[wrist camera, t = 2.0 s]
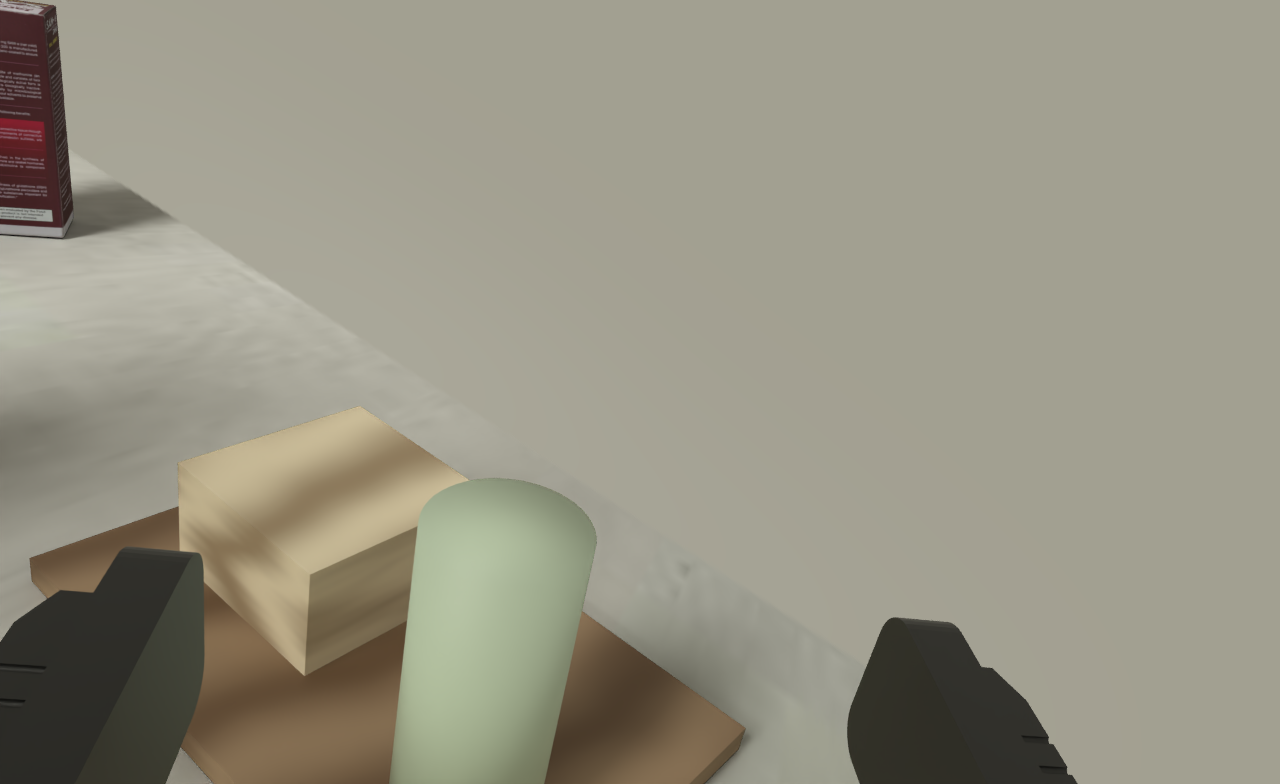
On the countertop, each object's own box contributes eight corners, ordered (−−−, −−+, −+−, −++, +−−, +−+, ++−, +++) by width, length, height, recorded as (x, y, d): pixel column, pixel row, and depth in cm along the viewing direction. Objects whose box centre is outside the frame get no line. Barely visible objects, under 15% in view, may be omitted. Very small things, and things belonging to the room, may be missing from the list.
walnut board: (31, 581, 40) (29, 558, 39) (350, 464, 52) (351, 446, 52) (446, 1043, 27) (451, 1019, 27) (738, 748, 40) (745, 728, 39)
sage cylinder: (354, 802, 32) (379, 516, 27) (467, 723, 36) (509, 460, 31) (457, 905, 30) (508, 613, 25) (567, 809, 34) (631, 539, 28)
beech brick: (179, 559, 41) (177, 462, 39) (353, 491, 48) (359, 405, 46) (304, 676, 37) (309, 574, 35) (475, 583, 44) (489, 493, 41)
